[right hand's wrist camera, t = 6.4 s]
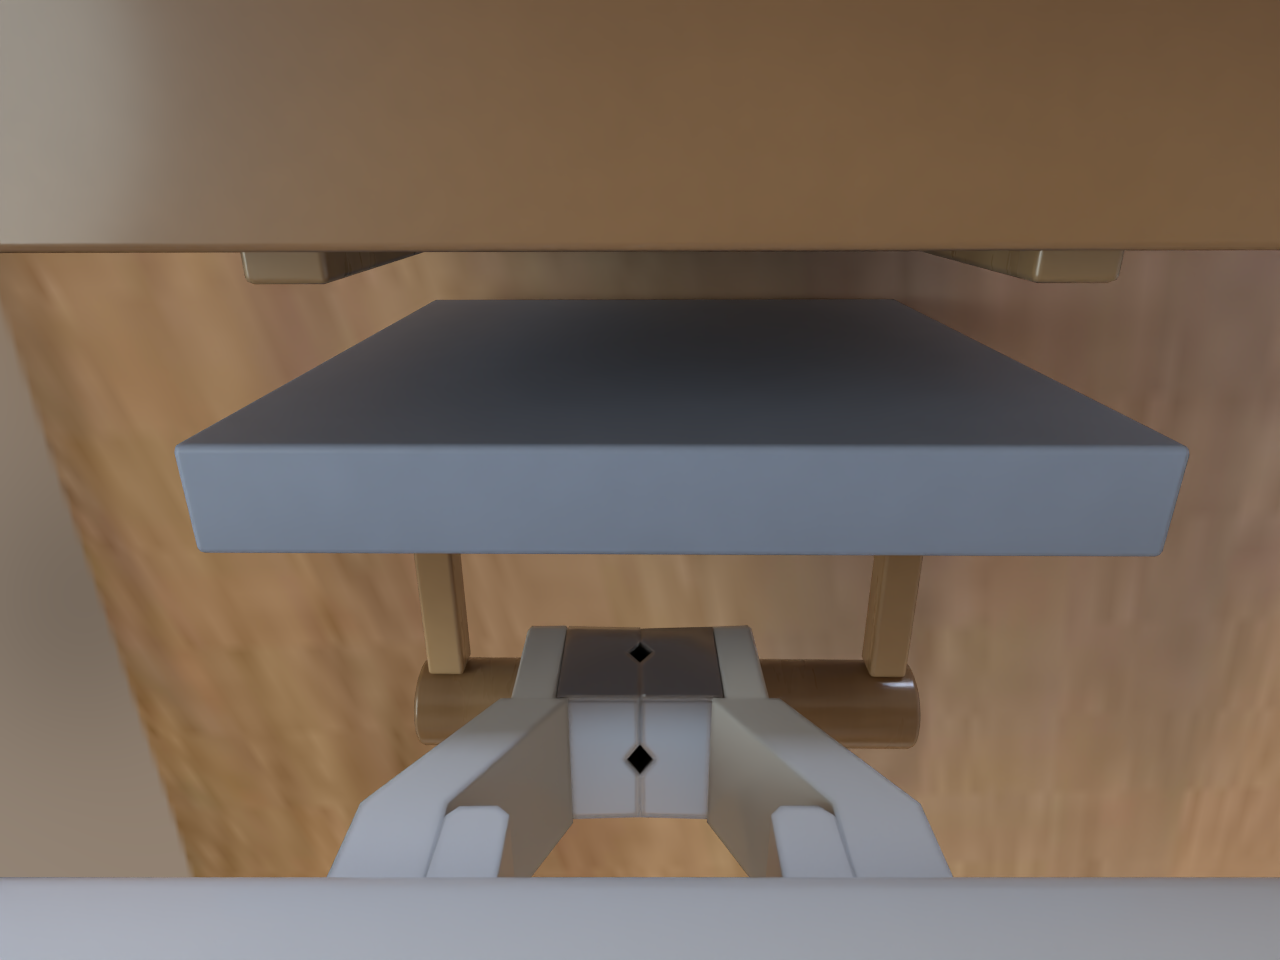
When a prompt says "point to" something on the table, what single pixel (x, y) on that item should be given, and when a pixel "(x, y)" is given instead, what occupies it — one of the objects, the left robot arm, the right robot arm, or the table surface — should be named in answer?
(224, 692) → the table surface
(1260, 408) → the table surface
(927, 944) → the right robot arm
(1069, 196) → the cabinet
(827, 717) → the drawer
